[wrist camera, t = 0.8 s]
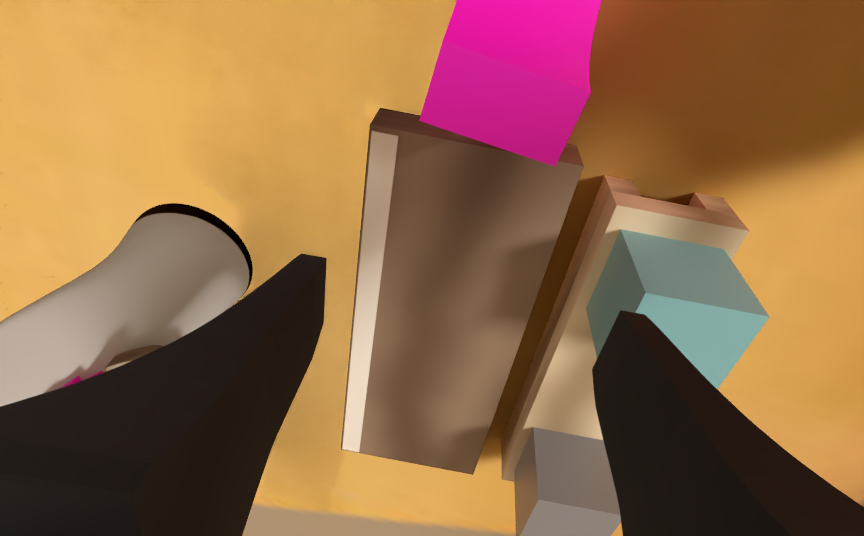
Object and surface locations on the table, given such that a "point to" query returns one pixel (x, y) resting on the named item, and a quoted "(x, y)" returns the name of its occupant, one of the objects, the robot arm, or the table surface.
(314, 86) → the table surface
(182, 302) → the silver metal tumbler
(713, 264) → the teal cube
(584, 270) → the tan tray
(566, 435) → the grey cube
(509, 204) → the dock
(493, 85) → the pink pipe cradle
